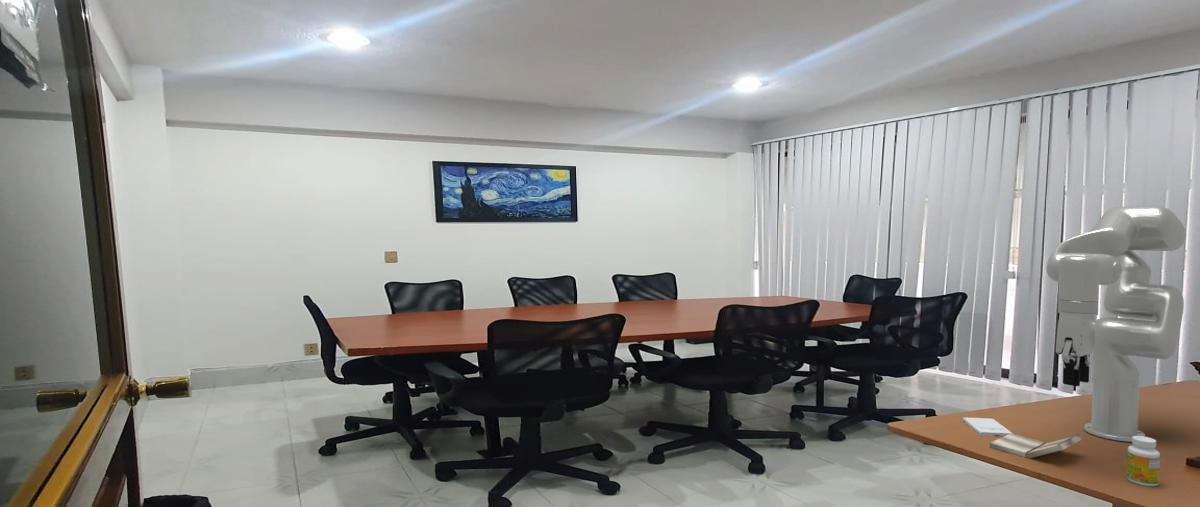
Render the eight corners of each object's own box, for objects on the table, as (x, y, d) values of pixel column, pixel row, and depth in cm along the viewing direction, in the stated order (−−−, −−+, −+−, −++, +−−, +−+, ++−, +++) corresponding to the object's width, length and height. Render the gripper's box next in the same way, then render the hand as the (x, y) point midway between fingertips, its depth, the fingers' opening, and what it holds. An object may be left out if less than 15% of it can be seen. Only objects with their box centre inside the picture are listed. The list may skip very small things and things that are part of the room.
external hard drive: (993, 424, 176) (1014, 439, 164) (962, 422, 177) (980, 437, 165) (993, 418, 176) (1014, 433, 163) (962, 417, 177) (980, 431, 165)
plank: (1049, 447, 155) (1046, 442, 156) (1082, 438, 150) (1079, 433, 150) (1029, 458, 149) (1026, 452, 149) (1063, 449, 143) (1059, 444, 143)
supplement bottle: (1120, 477, 137) (1121, 435, 137) (1141, 476, 138) (1143, 434, 137) (1143, 487, 132) (1144, 443, 132) (1165, 486, 133) (1167, 442, 132)
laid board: (1010, 437, 163) (1010, 433, 163) (1048, 447, 156) (1048, 442, 156) (989, 447, 156) (989, 442, 156) (1027, 458, 149) (1027, 453, 149)
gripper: (1072, 302, 152) (1070, 374, 153) (1044, 309, 143) (1042, 385, 144) (1110, 306, 146) (1108, 380, 147) (1083, 312, 137) (1081, 392, 137)
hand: (1075, 382), depth 145 cm, fingers open, 4 cm apart
